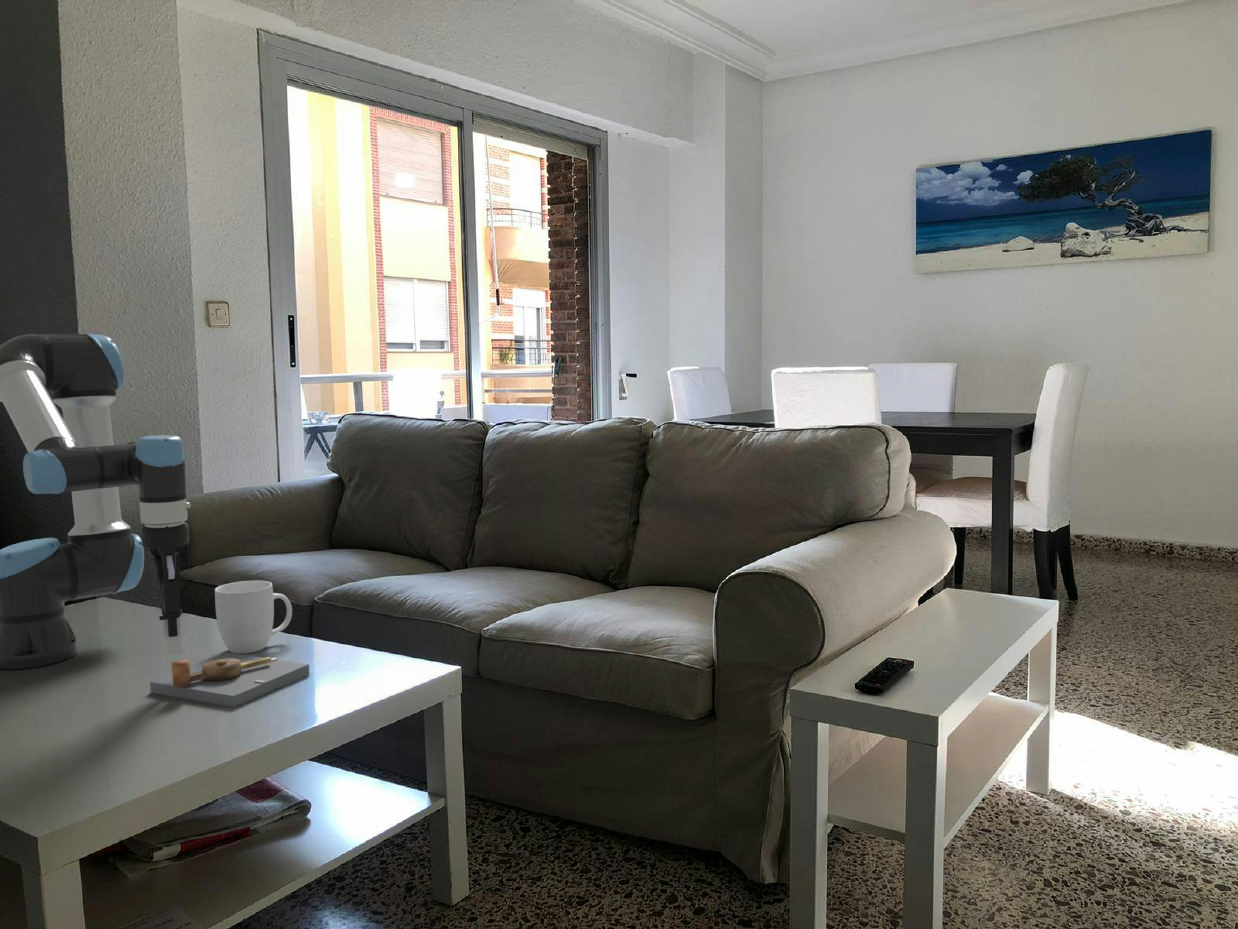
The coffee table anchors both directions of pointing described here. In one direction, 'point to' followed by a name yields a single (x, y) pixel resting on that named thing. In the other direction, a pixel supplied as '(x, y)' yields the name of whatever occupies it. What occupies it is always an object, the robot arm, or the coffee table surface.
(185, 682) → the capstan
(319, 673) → the coffee table surface
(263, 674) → the board
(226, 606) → the mug
